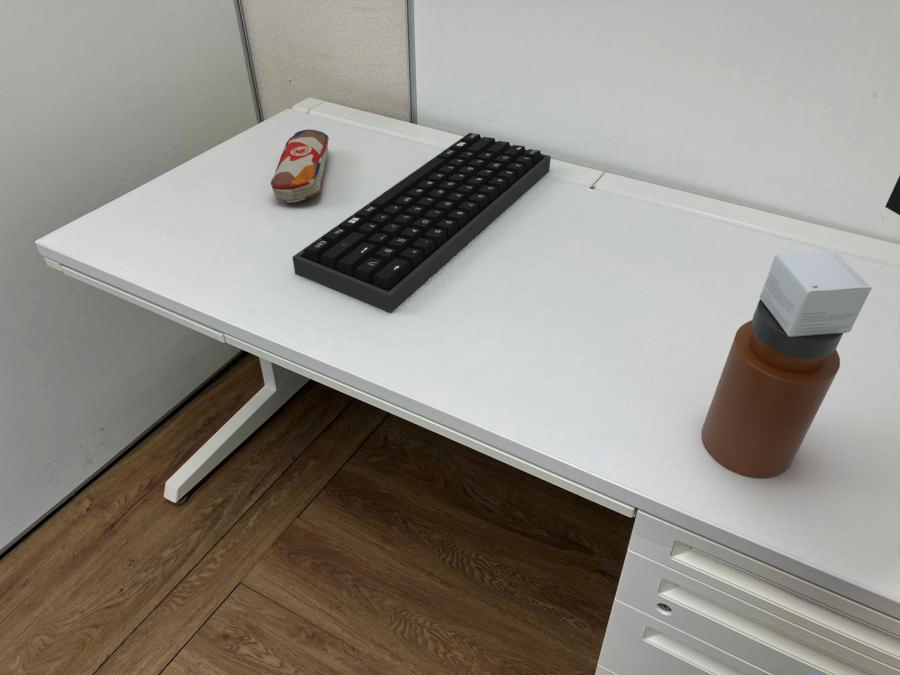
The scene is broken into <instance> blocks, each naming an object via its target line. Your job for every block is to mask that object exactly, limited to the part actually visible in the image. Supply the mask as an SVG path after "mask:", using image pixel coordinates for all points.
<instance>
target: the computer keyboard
mask: <svg viewBox="0 0 900 675" xmlns="http://www.w3.org/2000/svg"><path fill="white" fill-rule="evenodd" d="M551 158H552V157H551V155H549V154H544V153H542V151H541V150H539V149H533V148H532V149H531V148H528V149H526V147H525V145H518V144H513V145H512V144H511V143H510V142H509V141H503V140H497V141H496V137H495V138H494V137H488V136H483V137H481V134H480V133H474V132H468V133H467V134H465V135H464V136H463V137H461V138H460V139H458V140H457V141H456V142H454V143H453V144H451V145H450V146H449V147H447V148H446V149H444V150H442V151H441V152H440V153H438V154H437V155H436V156H434V157H433V158H431V159H430V160H429V161H427V162H425V163H424V164H423V165H421V166H419V167H418V168H417V169H416V170H414V171H413V172H411V173H410V174H408V175H406V177H404V178H403V179H401V180H400V181H398V182H397V183H396V184H394V185H393V186H391V187H390V188H389V189H387V190H386V191H384V192H383V193H382V194H380V195H379V196H377V197H375V198H374V199H373V200H371V201H370V202H368V203H367V204H366V205H364V206H363V207H362V208H360V209H358V210H357V211H355V212H354V213H353V214H352V215H350V216H349V217H347V218H346V219H343V221H341V222H340V223H339V224H337V225H336V226H334V227H333V228H331V229H330V230H328V231H327V232H325V233H324V234H323V235H321V236H320V237H319V238H317V239H316V240H314V241H313V242H312V243H309V245H307V246H306V247H304V248H303V249H302V250H300V251H298V252H297V253H296V254H294V255H293V256H292V257H291V258H292V263H293V270H294V274H296V275H298V276H300V277H303V278H305V279H306V280H307V279H308V280H310V281H312V282H315V283H317V284H320V285H321V286H324V287H326V288H329V289H332V290H334V291H336V292H339V293H341V294H344V295H345V296H348V297H351V298H352V299H356V300H358V301H359V302H363V303H364V304H368V305H369V306H372V307H375V308H378V309H380V310H382V311H384V312H387V313H389V314H392V313H393V312H394V311H395V310H397V308H399V307H400V306H401V305H402V304H403V303H404V302H405V301H406V300H407V299H408V298H410V297H411V296H412V295H414V293H415V292H416V291H417V290H419V289H420V288H421V287H422V286H423V285H424V284H425V283H426V282H428V281H429V280H430V279H431V278H432V277H433V276H435V274H437V272H439V271H440V270H441V269H442V268H443V267H444V266H445V265H447V264H448V263H449V262H450V261H451V260H452V259H453V258H454V257H455V256H456V255H458V254H459V253H460V252H461V251H462V250H463V249H465V247H466V246H468V245H469V244H470V243H471V242H472V241H473V240H474V239H475V238H477V237H478V236H479V235H480V234H481V233H482V232H484V230H486V228H488V227H489V226H490V225H491V224H492V223H493V222H494V221H495V220H497V219H498V218H499V217H500V216H501V215H502V214H504V213H505V212H506V211H507V210H508V209H509V208H510V207H511V206H513V204H514V203H516V202H517V201H518V200H519V199H520V198H521V197H522V196H523V195H525V194H526V192H528V191H529V190H530V189H531V188H532V187H533V186H535V184H537V183H538V182H539V181H540V180H542V178H543V177H544V176H546V175H547V174H548V173H549V172H550V168H551Z"/></svg>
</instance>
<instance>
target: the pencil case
mask: <svg viewBox="0 0 900 675" xmlns="http://www.w3.org/2000/svg"><path fill="white" fill-rule="evenodd" d="M329 140H330V138H329V136H328V134H327V133H325V132H324V131H320V130H317V129H309V128H308V129H307V128H306V129H302V130H298V131H296V132H295V133H294V134H293V135H292V136H290V138H288V139H287V141H286V142H285V145H284V147H283V150H282V153H281V155H280V157H279V161H278V164H277V167H276V169H275V172H274V174H273V177H272V178H271V180H270V186H271V189H272V191H273V194H274V196H275V198H276V199H277V200H278V201H281V202H283V203H287V204H295V203H298V202H301V201H304V200H307V199H310V198H312V197H314V196H316V195H317V194H318V193H320V192H321V189H322V187H323V178H324V172H325V166H326V162H327V160H328V157H329V147H328V145H329Z"/></svg>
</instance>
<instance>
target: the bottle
mask: <svg viewBox="0 0 900 675" xmlns="http://www.w3.org/2000/svg"><path fill="white" fill-rule="evenodd" d="M843 335H844V333H839V334H823V335H810V336H794V337H789V336H788V335H787V333H786V332H785V331H784V329H783V328H782V327H781V325H780V324H779V323H778V321H777V320H776V319H775V317H774V316H773V315H772V313H771V312H770V311H769V309H768V308H767V307H766V305H765V304H764V303H763V302H762V300H761V299H760V298H759V300H758V303H757V306H756V308H755V311H754V312H753V315H752V319H751V320H749V321H747V322H745V323H743V324H742V325H741V326H740V327H739V328H737V331H736V332H735V335H734V338H733V340H732V343H731V346H730V349H729V352H728V355H727V357H726V360H725V363H724V366H723V369H722V372H721V375H720V377H719V380H718V382H717V386H716V389H715V390H714V393H713V394H714V395H713V397H712V400H711V402H710V405H709V408H708V412H707V414H706V417H705V419H704V422H703V425H702V428H701V441H702V444H703V446H704V448H705V449H706V451H707V452H708V454H709V455H710V457H712V459H713V460H715V462H717V463H718V464H719V465H721V466H722V467H724V468H726V469H727V470H729V471H732V472H733V473H735V474H739V475H740V476H741V475H742V476H745V477H748V478H755V479H757V478H758V479H766V478H767V479H768V478H773V477H776V476H779V475H782V474H783V473H785V472H786V471H787V470H788V469H789V468H790V466H791V465H792V464H793V461H794V459H795V457H796V455H797V454H798V452H799V449H800V448H801V445H802V443H803V442H804V439H805V438H806V435H807V433H808V431H809V430H810V427H811V426H812V424H813V421H814V420H815V418H816V415H817V413H818V412H819V409H820V407H821V406H822V404H823V402H824V400H825V398H826V396H827V394H828V391H829V390H830V388H831V386H832V384H833V382H834V380H835V378H836V376H837V374H838V373H839V370H840V367H841V358H840V354H839V352H838V350H837V348H838V346H839V344H840V342H841V339H842V338H843Z"/></svg>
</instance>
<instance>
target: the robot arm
mask: <svg viewBox="0 0 900 675" xmlns="http://www.w3.org/2000/svg"><path fill="white" fill-rule="evenodd" d="M884 208H886V209H888V210H890V211H891V212H893V213H894V214H896V215H898V216H900V175H899V176H898V178H897V180H896V182H895V185H894V187H893V189H892V191H891V193H890V195H889V198H888V199H887V201H886V204H885V207H884ZM806 675H824V674H823V673H818V672H811V673H807V674H806Z"/></svg>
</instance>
